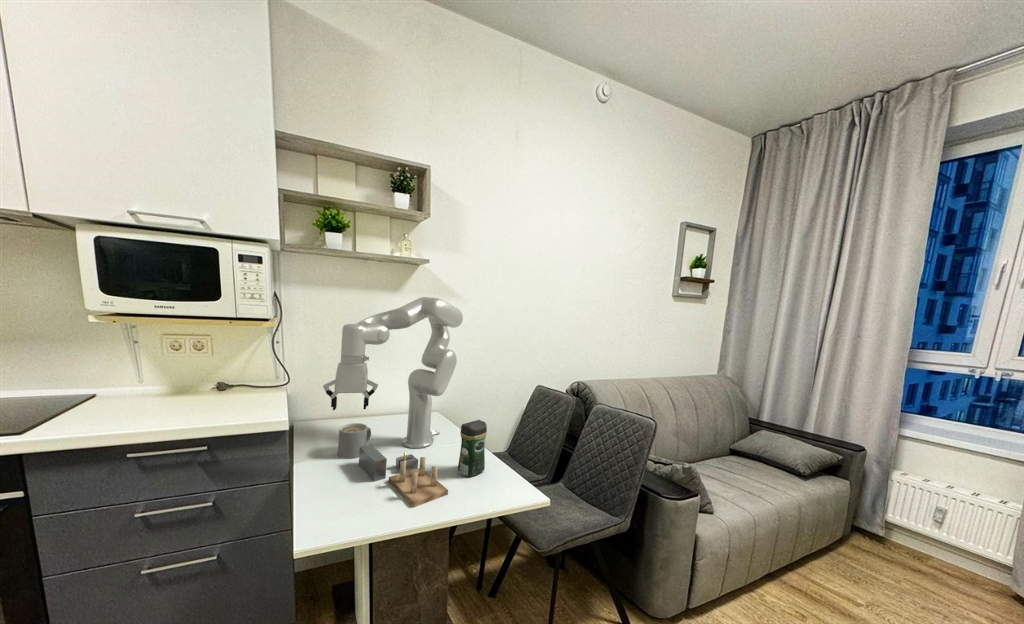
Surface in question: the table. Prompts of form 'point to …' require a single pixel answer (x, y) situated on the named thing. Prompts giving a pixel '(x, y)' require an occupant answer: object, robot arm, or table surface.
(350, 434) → the coffee mug
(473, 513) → the table surface
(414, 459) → the slot block
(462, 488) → the table surface
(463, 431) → the coffee jar
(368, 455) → the steel bar
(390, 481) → the rack
